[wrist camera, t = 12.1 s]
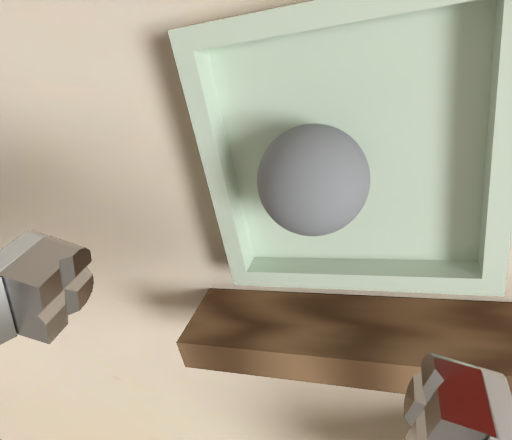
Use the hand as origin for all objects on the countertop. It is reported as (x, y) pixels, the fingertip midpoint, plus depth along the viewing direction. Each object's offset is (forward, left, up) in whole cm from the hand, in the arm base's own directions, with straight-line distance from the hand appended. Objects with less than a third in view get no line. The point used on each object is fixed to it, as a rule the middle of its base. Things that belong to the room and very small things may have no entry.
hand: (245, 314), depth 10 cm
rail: (+1, -11, -13) cm, 17 cm away
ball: (0, -1, -10) cm, 10 cm away
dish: (+1, -1, -13) cm, 13 cm away
